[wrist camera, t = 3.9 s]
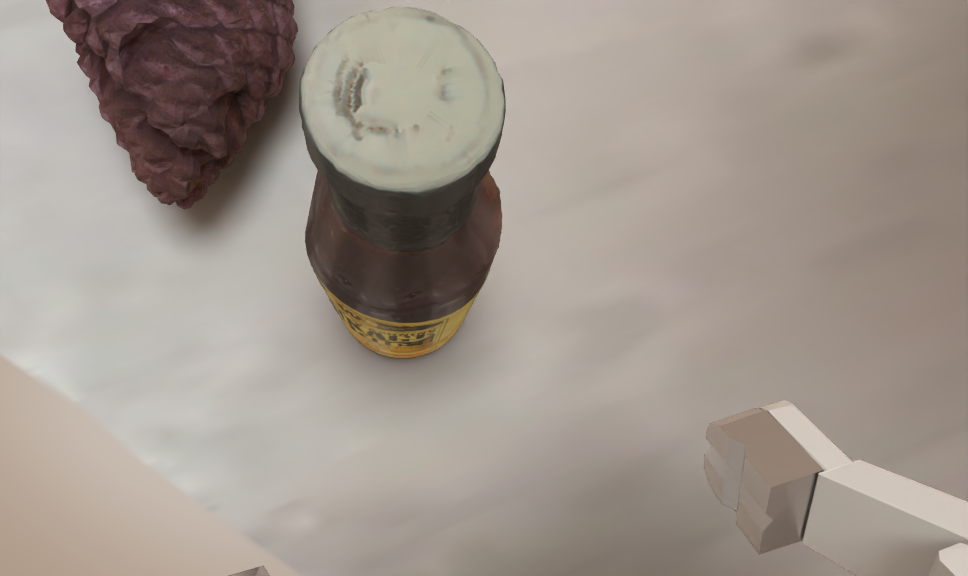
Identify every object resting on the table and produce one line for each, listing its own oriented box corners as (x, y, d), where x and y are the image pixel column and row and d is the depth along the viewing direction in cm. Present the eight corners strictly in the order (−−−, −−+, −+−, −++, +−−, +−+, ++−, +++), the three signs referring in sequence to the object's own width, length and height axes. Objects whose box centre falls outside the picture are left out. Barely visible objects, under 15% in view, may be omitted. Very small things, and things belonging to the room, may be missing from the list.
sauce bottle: (316, 316, 30) (128, 107, 11) (391, 218, 32) (338, -114, 13) (426, 391, 30) (426, 309, 11) (496, 288, 32) (606, 57, 12)
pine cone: (300, 243, 31) (244, 156, 22) (94, 237, 30) (-62, 143, 21) (323, -53, 35) (284, -237, 26) (141, -66, 35) (31, -261, 25)
